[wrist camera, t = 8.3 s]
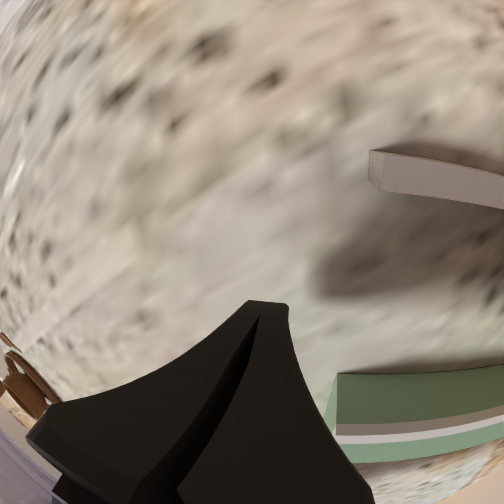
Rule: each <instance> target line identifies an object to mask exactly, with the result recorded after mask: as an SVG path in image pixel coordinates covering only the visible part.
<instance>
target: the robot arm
mask: <svg viewBox="0 0 504 504" xmlns="http://www.w3.org/2000/svg"><path fill="white" fill-rule="evenodd" d="M288 314H289V307H288V305H287V304H285V303H274V302H264V301H254V300H248V301H247V302H245V303H244V304H243V305H242V306H241V307H240V308H239V309H238V310H237V311H236V312H235V313H234V314H233V315H231V316H230V317H229V318H228V319H227V320H226V321H225V322H224V323H223V324H221V325H220V326H219V327H218V328H217V329H216V330H214V331H213V332H212V333H211V334H210V335H208V336H207V337H206V338H205V339H203V340H202V341H201V342H199V343H198V344H197V345H195V346H194V347H193V348H191V349H190V350H188V351H187V352H186V353H184V354H183V355H181V356H180V357H178V358H176V359H175V360H173V361H172V362H170V363H168V364H166V365H165V366H163V367H161V368H159V369H157V370H156V371H153V372H151V373H149V374H147V375H145V376H143V377H141V378H139V379H136V380H134V381H132V382H130V383H127V384H125V385H122V386H120V387H117V388H114V389H111V390H108V391H105V392H102V393H99V394H96V395H92V396H89V397H85V398H80V399H75V400H71V401H66V402H61V403H55V404H51V405H50V406H49V408H48V409H47V410H46V411H45V412H44V414H43V415H42V416H41V417H40V419H39V420H38V421H37V422H36V424H35V425H34V426H33V427H32V429H31V430H30V431H29V433H28V434H27V435H26V441H27V442H28V444H30V446H31V447H32V448H33V449H35V450H36V451H37V452H38V453H39V454H40V455H41V456H42V457H43V458H44V459H46V460H47V461H48V462H49V463H50V464H51V465H53V466H54V467H55V468H56V469H57V470H59V471H60V472H61V473H62V476H61V477H60V479H59V480H58V479H57V478H55V477H54V476H53V475H51V474H50V473H49V472H48V471H46V470H45V469H44V468H43V467H42V466H40V465H39V464H38V463H37V462H36V461H34V460H33V459H32V458H31V457H30V456H29V455H28V454H27V453H25V452H24V451H23V450H22V449H21V448H20V447H19V446H18V445H17V444H16V443H15V442H14V440H13V439H12V438H11V437H10V436H9V435H8V434H7V433H6V432H5V431H4V430H3V429H2V428H1V427H0V504H375V501H374V497H373V494H372V490H371V488H370V486H369V485H368V483H367V482H366V481H365V480H364V479H363V477H362V476H361V475H360V474H359V472H358V471H357V470H356V469H355V467H354V466H353V465H352V463H351V462H350V461H349V459H348V458H347V456H346V455H345V453H344V452H343V450H342V449H341V447H340V446H339V445H338V443H337V442H336V440H335V438H334V437H333V435H332V433H331V432H330V430H329V428H328V426H327V425H326V423H325V421H324V419H323V418H322V416H321V414H320V413H319V411H318V409H317V407H316V405H315V403H314V400H313V398H312V396H311V394H310V392H309V390H308V387H307V385H306V383H305V380H304V378H303V375H302V372H301V370H300V367H299V364H298V361H297V358H296V354H295V351H294V347H293V343H292V339H291V335H290V330H289V323H288Z"/></svg>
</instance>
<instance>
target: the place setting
mask: <svg viewBox="0 0 504 504" xmlns="http://www.w3.org/2000/svg"><path fill="white" fill-rule="evenodd" d="M0 338H1V339H2V341H3V342H4V343H5V344H7V345H8V346H9V347H14V348H15V349H17V350H18V351H20V352H21V350H20V349H18V348H17V347H16V346H15V345H13V344H12V343H11V341H10V340H9V339H8V338H7V337H6V336H5V335H4V334H2V333H0ZM8 341H9V342H10V343H9V342H8ZM21 353H22V352H21ZM4 359H5V362H6V364H7V366H8V369H7V370H8V372H9V376H6V378H5V380H3V382H1V381H0V397H1V396H2V395H3V394H4V392H5V391H6V390H7V391H8V393H9V394H10V395H11V397H12V398H13V399H14V400H15V401H16V402H17V404H18V405H19V406H20V407H21V408H22V409H23V410H24V411H25V412H26V413H27V414H28V415H30V416H31V417H32V418H33V419H35V420H38V419H39V418H40V417H41V416H42V414H43V413H44V411H45V410H47V409H48V408H49V406H50V405H49V404H47V403H46V400H45V397H44V395H45V394H46V395H47V397H48V398H49V399H50V400H51V401H52V403H53V404H55V403H61V402H60V401H59V399H58V398H57V397H56V395H55V394H54V393H53V392H52V390H51V389H50V388H49V387H48V386H47V385H46V383H45V382H44V381H43V380H42V379H41V378H40V377H39V375H38V374H37V373H36V372H35V371H34V370H33V369H32V368H31V367H30V366H29V365H28V364H27V363H26V362H25V361H24V360H23V359H22V358H21V357H19V356H18V355H17V354H15V353H13V352H7V353H6V354H5V355H4ZM13 361H15V362H16V363H17V364H18V365H19V366H20V367H21V368H22V369H23V370H24V371H25V372H26V374H23V373H20V372H18V370H17V368H16V367H15V365H14V363H13Z"/></svg>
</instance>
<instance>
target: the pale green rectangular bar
mask: <svg viewBox="0 0 504 504" xmlns="http://www.w3.org/2000/svg"><path fill="white" fill-rule="evenodd" d="M324 421H325V423H326V425H327V426H328V428H329V430H330V432H331V433H332V435H333V437H334V438H335V440H336V442H337V443H338V445H339V446H340V447H341V449H342V450H343V452H344V453H345V455H346V456H347V458H348V459H349V461H350V462H351V463H373V462H388V461H398V460H407V459H415V458H421V457H428V456H433V455H439V454H444V453H449V452H453V451H457V450H462V449H466V448H469V447H473V446H477V445H480V444H484V443H487V442H490V441H493V440H496V439H499V438H502V437H504V364H502V365H496V366H490V367H483V368H476V369H468V370H459V371H449V372H436V373H420V374H382V375H376V374H338V373H337V375H336V379H335V383H334V386H333V390H332V393H331V397H330V400H329V403H328V407H327V410H326V413H325V416H324Z"/></svg>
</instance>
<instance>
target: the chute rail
mask: <svg viewBox="0 0 504 504" xmlns="http://www.w3.org/2000/svg"><path fill="white" fill-rule="evenodd" d="M368 180H369V181H371V182H372V183H373V184H374V185H375V186H376V187H378V188H379V189H380V190H381V191H386V192H396V193H404V194H413V195H421V196H428V197H435V198H442V199H449V200H455V201H461V202H467V203H473V204H479V205H484V206H489V207H494V208H499V209H504V175H501V174H497V173H493V172H490V171H486V170H482V169H478V168H473V167H469V166H465V165H460V164H455V163H450V162H445V161H440V160H435V159H429V158H423V157H417V156H410V155H404V154H396V153H389V152H380V151H371V150H370V158H369V179H368Z"/></svg>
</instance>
